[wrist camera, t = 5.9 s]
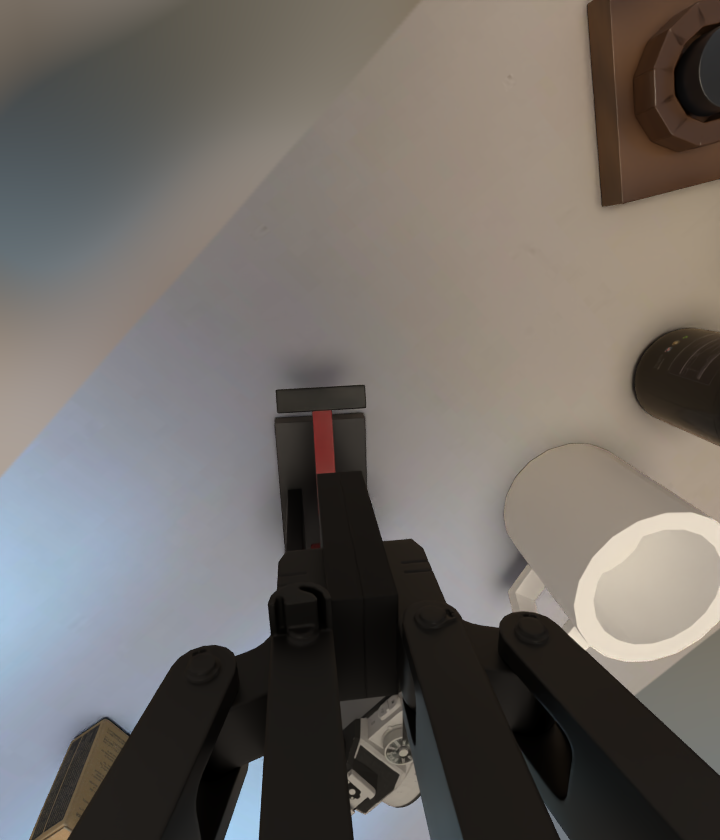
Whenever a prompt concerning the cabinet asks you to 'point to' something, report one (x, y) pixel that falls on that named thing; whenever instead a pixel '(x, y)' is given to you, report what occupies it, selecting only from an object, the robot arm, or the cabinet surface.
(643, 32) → the switch block
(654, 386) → the supplement bottle
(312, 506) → the lever switch
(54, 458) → the cabinet surface
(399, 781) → the camera
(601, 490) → the mug
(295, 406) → the red lever
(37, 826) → the ink box
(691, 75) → the button
